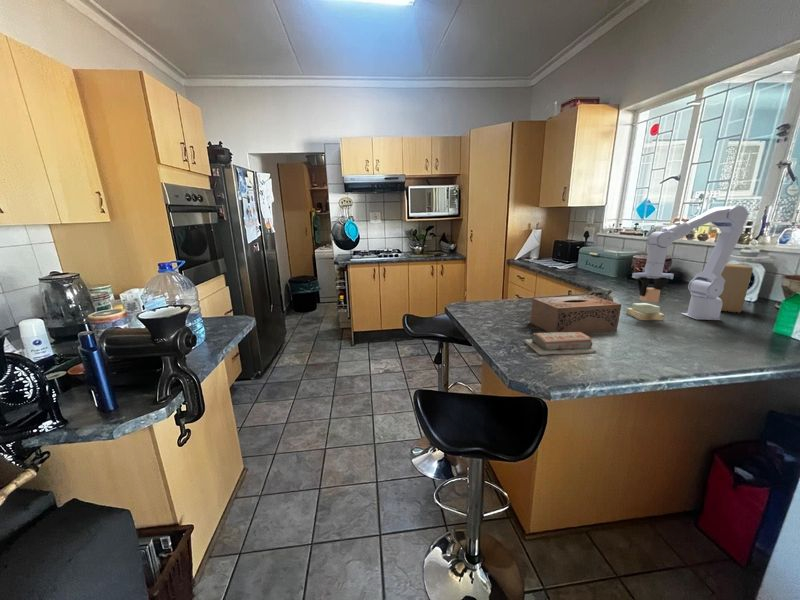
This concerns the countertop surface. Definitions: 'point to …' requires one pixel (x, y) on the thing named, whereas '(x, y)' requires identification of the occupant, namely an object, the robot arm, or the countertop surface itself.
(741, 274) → the wooden block
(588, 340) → the packaged product
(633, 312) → the maple slab
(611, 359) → the countertop surface
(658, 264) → the robot arm
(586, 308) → the tissue box cover
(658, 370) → the countertop surface
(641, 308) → the sage block
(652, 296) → the terracotta cube
